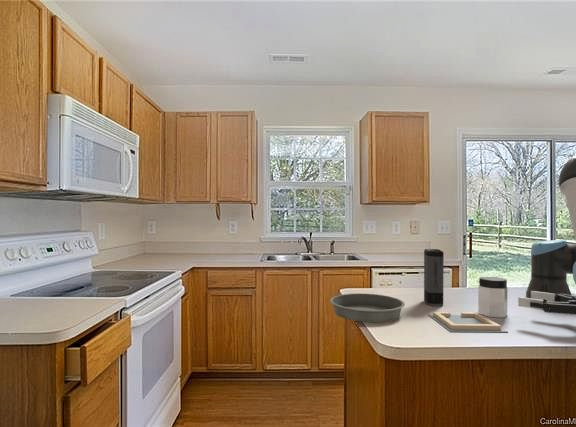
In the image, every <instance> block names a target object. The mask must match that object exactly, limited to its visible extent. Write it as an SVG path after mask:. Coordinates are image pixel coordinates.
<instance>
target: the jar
mask: <svg viewBox="0 0 576 427" xmlns="http://www.w3.org/2000/svg"><path fill="white" fill-rule="evenodd" d="M478 284H479V285H478V290H477V291H478V293H477V294H478V300H477V304H478V305H477V306H478V307H477V308H478V312H477V313H478V314H480V315H482V316H484V317H489V318H501V319H502V318H503V319H504V318H505V317H506V316H508V286H507V284H508V280H507V278H503V277H495V276H480V277H479V280H478Z"/></svg>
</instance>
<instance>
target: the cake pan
mask: <svg viewBox="0 0 576 427" xmlns="http://www.w3.org/2000/svg"><path fill="white" fill-rule="evenodd" d="M329 301H330V303H331V304H332V306H333V310H334V313H335V315H336V316H337V317H340V318H341V319H346V320H348V321H354V322H355V321H356V322H363V323H384V322H385V321H386V322H391V320H392V321H395V320H397V319H399V318H400V315H401V312H402V308H405V305H406V303H405V301H403V300H401V299H399V298H397V297H393V296H390V295H383V294H377V293H376V294H375V293H344V294H339V295H335V296H333V297H331V298H330V300H329Z"/></svg>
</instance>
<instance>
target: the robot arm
mask: <svg viewBox="0 0 576 427" xmlns="http://www.w3.org/2000/svg"><path fill="white" fill-rule="evenodd" d="M558 176H559V177H558V187H559V192H560V193H561V194H562V195H563V196H565V201H566V205H567V209H568V213H569V218H570V223H571V226H572V231H573V234H574V235H573V236H574V239H575V241H576V154H575V155H573V156H572V157H571V158H570V159H568V160H567V161H566V163H565V164H564V165H563V167H562V168H561V170H560V172H559V175H558ZM530 249H531V251H530V255H531V256H530V258H531V259H530V263H531V265H530V266H531V268H530V275H531V276H530V279H529V280H530V281H529V284H528V285H527V288H526V291H525V297H522V296H518V297H517V298H518V300H517V305H518V307H521V308H528V309H529V308H530V309H534V310H542V311H543V312H544V313H549V314H550V313H553V314H566V315H576V296H575V295H572V292H571V290H570V287H569V284H568V280H567V279H568V276H567V274H568V275H572V279H573V282H574V284H575V285H576V243H568V241H567V240H564V239H559V240H558V239H554V240H553V239H552V240H541V241H535V242H533V243H532V245H531V248H530Z"/></svg>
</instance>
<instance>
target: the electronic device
mask: <svg viewBox="0 0 576 427" xmlns="http://www.w3.org/2000/svg"><path fill="white" fill-rule="evenodd" d="M423 252H424V253H423V269H424V270H423V272H424V273H423V300H424V302H425V304H426V305H427V306H431V305H432V307H433V306H436V307H441V306H443V305H444V269H445V268H444V262H445V260H444V253H445V252H444V251H443V250H441V249H437V248H425V249H424V251H423Z"/></svg>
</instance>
